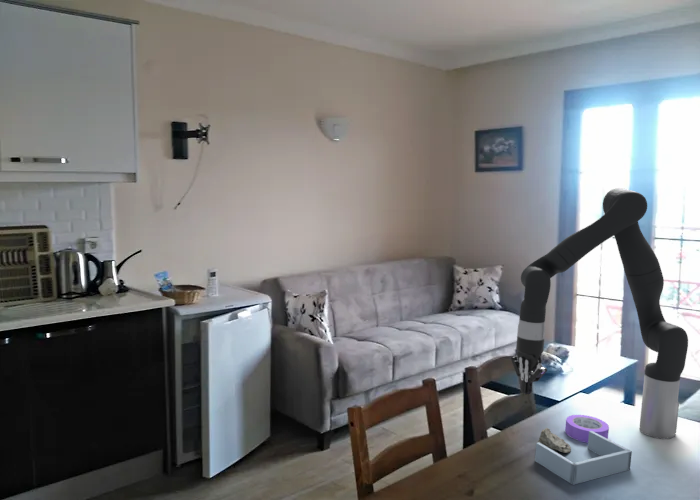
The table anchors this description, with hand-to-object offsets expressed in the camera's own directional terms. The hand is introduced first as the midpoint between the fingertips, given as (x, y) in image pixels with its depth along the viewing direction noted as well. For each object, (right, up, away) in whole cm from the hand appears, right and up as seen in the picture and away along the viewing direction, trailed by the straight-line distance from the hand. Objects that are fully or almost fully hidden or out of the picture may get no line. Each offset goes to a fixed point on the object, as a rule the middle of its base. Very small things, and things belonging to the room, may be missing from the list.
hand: (526, 393), depth 171 cm
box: (+9, -14, -18) cm, 25 cm away
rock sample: (+5, -13, -9) cm, 17 cm away
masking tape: (+18, -13, +1) cm, 22 cm away
